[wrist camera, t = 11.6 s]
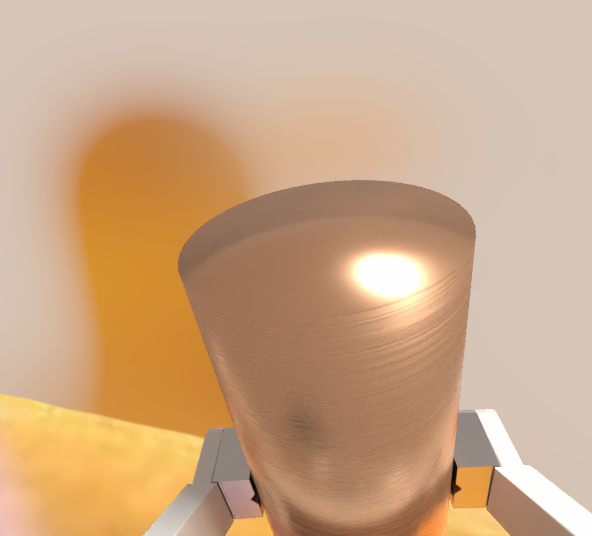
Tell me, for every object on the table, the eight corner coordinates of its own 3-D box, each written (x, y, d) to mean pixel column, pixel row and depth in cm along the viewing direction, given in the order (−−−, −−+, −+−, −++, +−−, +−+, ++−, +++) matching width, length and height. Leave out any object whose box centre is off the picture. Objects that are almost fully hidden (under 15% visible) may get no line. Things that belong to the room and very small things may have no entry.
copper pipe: (303, 695, 13) (127, 335, 5) (304, 531, 17) (214, 197, 9) (455, 696, 12) (544, 294, 4) (417, 527, 17) (427, 168, 9)
